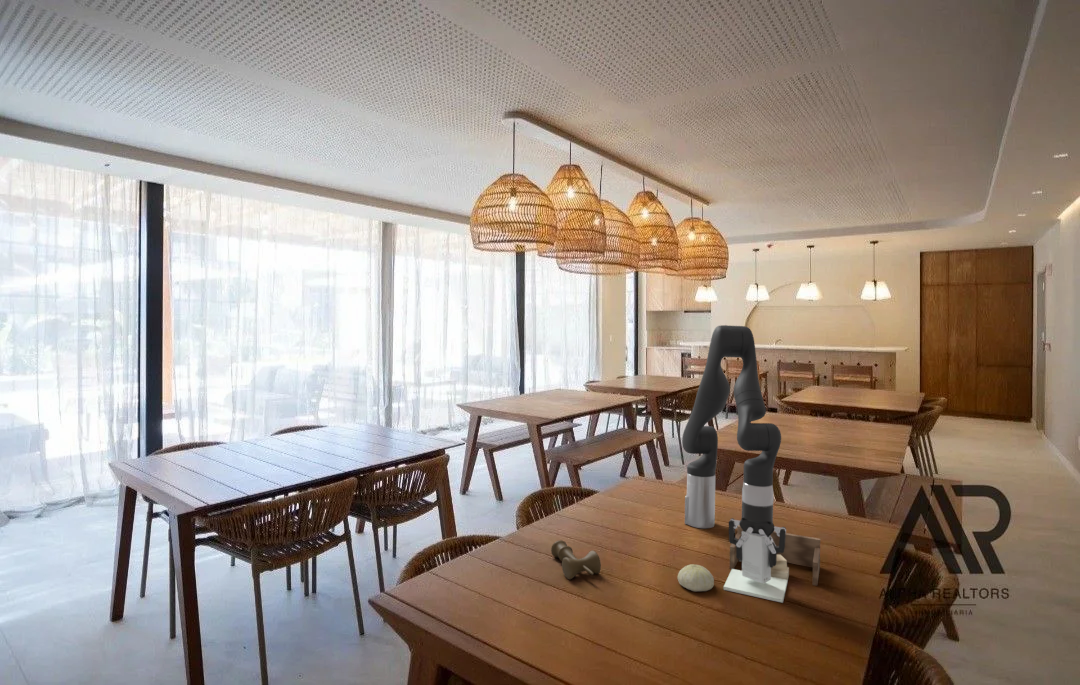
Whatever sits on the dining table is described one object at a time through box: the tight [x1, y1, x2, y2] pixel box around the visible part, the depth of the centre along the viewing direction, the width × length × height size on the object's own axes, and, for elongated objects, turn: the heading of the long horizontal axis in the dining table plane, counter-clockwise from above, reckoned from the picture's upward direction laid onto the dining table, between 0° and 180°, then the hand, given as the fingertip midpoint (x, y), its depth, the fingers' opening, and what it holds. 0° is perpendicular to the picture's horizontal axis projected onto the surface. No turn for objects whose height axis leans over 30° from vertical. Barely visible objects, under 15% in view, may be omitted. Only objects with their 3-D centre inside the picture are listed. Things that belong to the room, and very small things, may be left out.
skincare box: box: [741, 531, 771, 584], centre depth 147 cm, size 6×4×12 cm
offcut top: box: [771, 555, 788, 570], centre depth 154 cm, size 6×4×2 cm, turn 90°
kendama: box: [550, 540, 602, 580], centre depth 156 cm, size 6×10×20 cm
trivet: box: [723, 568, 789, 604], centre depth 147 cm, size 14×12×1 cm
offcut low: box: [771, 566, 790, 581], centre depth 154 cm, size 8×4×2 cm, turn 62°
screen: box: [729, 525, 821, 587], centre depth 158 cm, size 22×13×8 cm, turn 62°
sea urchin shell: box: [677, 563, 715, 592], centre depth 147 cm, size 9×8×8 cm
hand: (756, 563), depth 147 cm, fingers closed on skincare box, 7 cm apart
